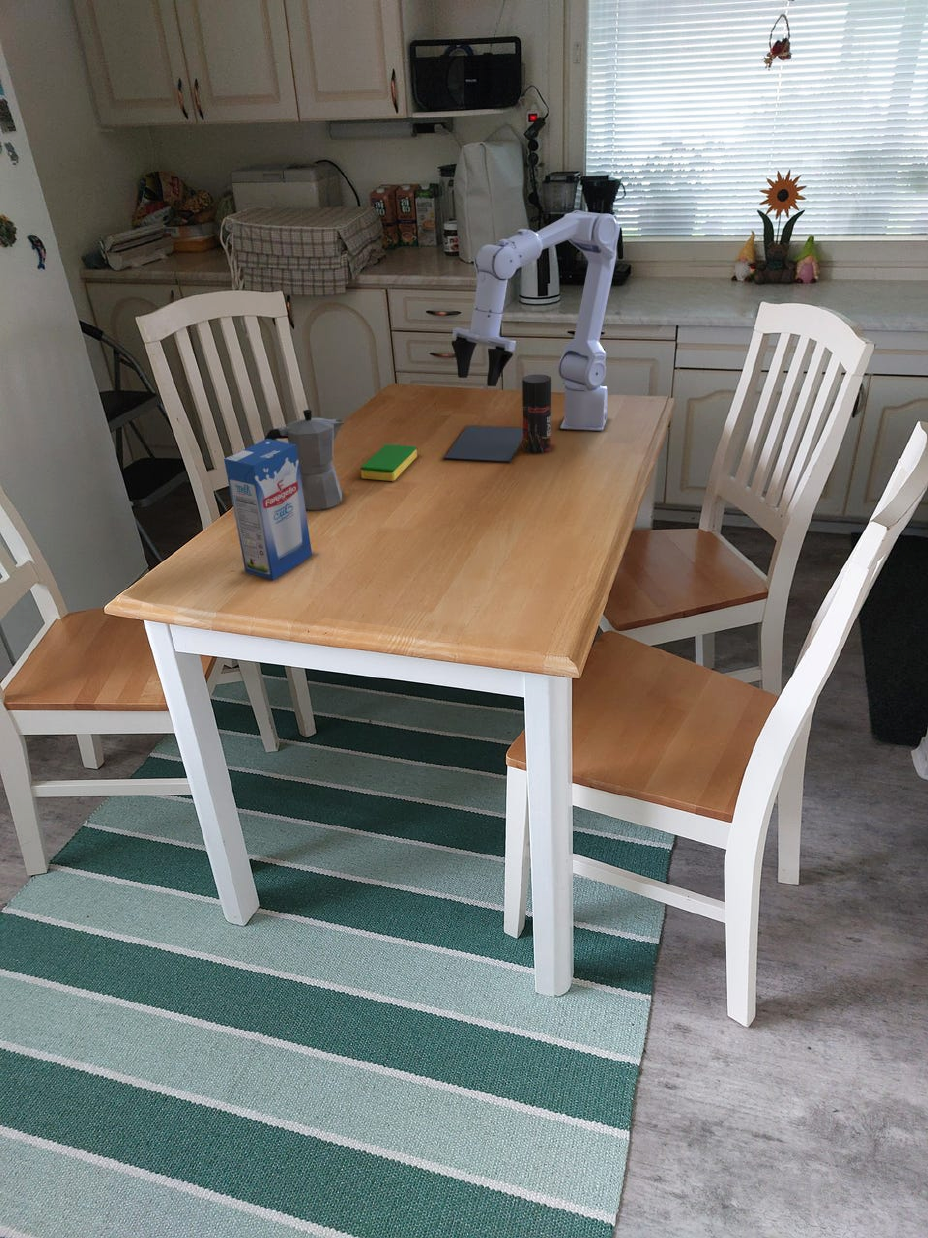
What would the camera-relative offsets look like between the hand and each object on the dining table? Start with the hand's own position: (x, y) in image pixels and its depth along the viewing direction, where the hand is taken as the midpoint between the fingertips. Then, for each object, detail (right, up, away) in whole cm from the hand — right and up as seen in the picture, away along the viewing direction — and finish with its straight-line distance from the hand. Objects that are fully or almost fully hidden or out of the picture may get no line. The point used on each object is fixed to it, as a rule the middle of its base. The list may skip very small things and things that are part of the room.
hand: (476, 381), depth 184 cm
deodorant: (+13, -11, +11) cm, 21 cm away
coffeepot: (-31, -25, -8) cm, 41 cm away
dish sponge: (-18, -17, +6) cm, 25 cm away
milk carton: (-34, -39, -29) cm, 59 cm away
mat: (+3, -10, +15) cm, 18 cm away
